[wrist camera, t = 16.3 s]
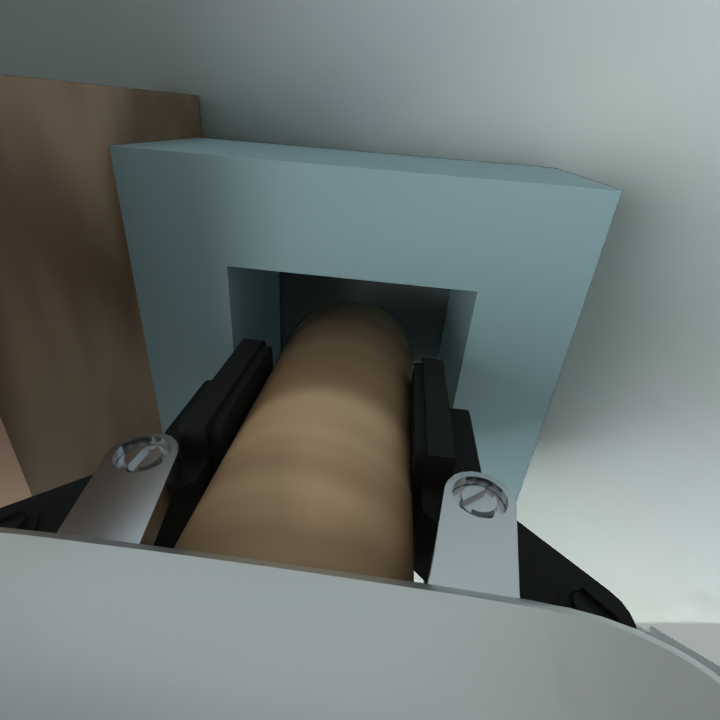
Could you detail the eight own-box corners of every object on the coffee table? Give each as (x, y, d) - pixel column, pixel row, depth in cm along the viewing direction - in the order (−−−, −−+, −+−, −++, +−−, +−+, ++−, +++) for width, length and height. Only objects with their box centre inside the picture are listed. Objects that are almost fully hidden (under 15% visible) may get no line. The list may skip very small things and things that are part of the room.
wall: (150, 92, 14) (-263, 49, 6) (198, 95, 14) (-145, 58, 5) (209, 520, 24) (93, 750, 15) (237, 524, 24) (137, 758, 15)
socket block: (199, 137, 15) (108, 145, 10) (555, 168, 14) (622, 190, 10) (226, 419, 20) (175, 502, 16) (481, 450, 20) (501, 546, 15)
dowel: (288, 294, 13) (54, 628, 5) (420, 308, 13) (439, 686, 4) (289, 403, 15) (126, 784, 7) (404, 417, 15) (394, 828, 6)
